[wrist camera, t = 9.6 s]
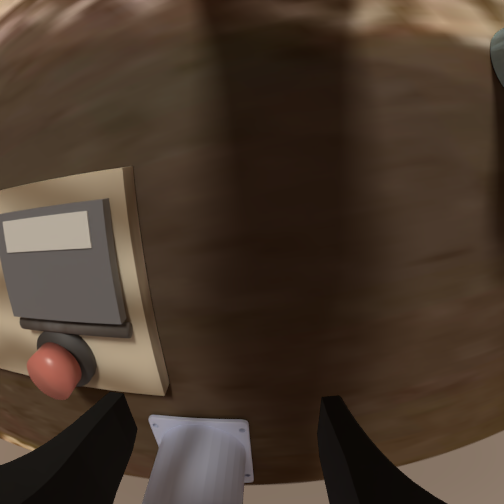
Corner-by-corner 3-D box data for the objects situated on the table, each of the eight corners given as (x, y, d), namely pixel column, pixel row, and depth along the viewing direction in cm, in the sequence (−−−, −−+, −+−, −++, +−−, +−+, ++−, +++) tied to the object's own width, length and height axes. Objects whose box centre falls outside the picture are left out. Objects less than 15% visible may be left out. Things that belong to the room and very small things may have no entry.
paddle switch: (126, 318, 18) (120, 325, 17) (20, 312, 18) (13, 316, 17) (109, 198, 16) (101, 199, 15) (1, 213, 17) (-8, 215, 16)
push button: (88, 387, 19) (77, 403, 17) (50, 380, 19) (38, 395, 17) (71, 344, 18) (58, 360, 16) (33, 339, 18) (19, 353, 16)
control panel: (169, 382, 22) (161, 405, 19) (-8, 355, 23) (-22, 369, 20) (132, 166, 17) (114, 169, 15) (-52, 204, 18) (-72, 211, 16)
